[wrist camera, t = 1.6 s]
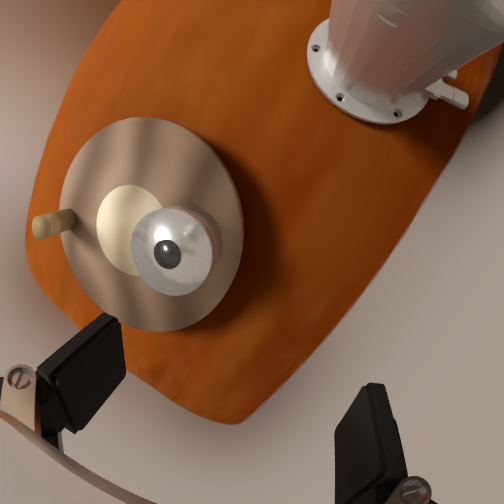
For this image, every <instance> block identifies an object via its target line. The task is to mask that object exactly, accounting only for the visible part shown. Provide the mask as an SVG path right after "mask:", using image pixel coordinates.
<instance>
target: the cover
mask: <svg viewBox="0 0 504 504" xmlns="http://www.w3.org/2000/svg"><path fill="white" fill-rule="evenodd" d="M222 248H223V244H222V236H221V233H220V230H219V228H218V226H217V224H216V222H215V221H214V220H213V218H212V217H211V216H210V215H209V214H208V213H207V212H205V211H204V210H203V209H201V208H199V207H197V206H194V205H190V204H177V205H173V206H169V207H166V208H162V209H159V210H155V211H153V212H150V213H148V214H147V215H145V216H144V217H143V218H142V219H141V220H140V221H139V222H138V224H137V225H136V227H135V229H134V231H133V234H132V238H131V255H132V260H133V263H134V265H135V268H136V270H137V272H138V273H139V275H140V276H141V278H142V279H143V280H144V281H145V282H146V283H147V284H148V285H149V286H150V287H152V288H153V289H155V290H156V291H158V292H160V293H163V294H166V295H171V296H181V295H185V294H188V293H191V292H192V291H194V290H195V289H197V288H198V287H199V286H200V285H201V284H202V283H203V282H204V280H205V279H206V278H207V277H208V276H209V275H210V274H211V272H212V271H213V270H214V269H215V268H216V266H217V265H218V263H219V261H220V258H221V255H222Z"/></svg>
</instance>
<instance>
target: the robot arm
mask: <svg viewBox="0 0 504 504" xmlns="http://www.w3.org/2000/svg"><path fill="white" fill-rule="evenodd" d="M502 42H504V0H332V5H331V11H330V17H329V18H328V19H327V20H325V21H323V22H322V23H321V24H320V25H319V26H318V27H316V29H315V30H314V32H313V33H312V35H311V37H310V40H309V43H308V48H307V64H308V67H309V71H310V74H311V76H312V79H313V81H314V83H315V85H316V86H317V87H318V89H319V90H320V91H321V93H322V94H323V95H324V96H325V97H326V98H327V99H328V100H329V101H330V102H331V103H332V104H333V105H334V106H336V107H337V108H338V109H340V110H341V111H343V112H344V113H346V114H348V115H350V116H352V117H354V118H356V119H359V120H362V121H365V122H369V123H374V124H394V123H400V122H402V121H405V120H407V119H409V118H411V117H413V116H415V115H416V114H417V113H419V112H420V111H421V110H422V109H423V108H424V106H425V104H426V103H427V101H428V99H429V98H432V99H434V100H437V99H438V98H441V99H443V100H445V101H447V102H448V103H450V104H452V105H454V106H456V107H458V108H460V109H462V110H463V109H465V108H466V107H467V105H468V101H469V97H468V94H467V93H466V92H464V91H462V90H460V89H458V88H456V87H454V86H452V85H448V84H446V83H444V82H443V80H442V78H443V77H447V78H449V79H451V80H455V79H456V77H457V70H456V69H458V68H459V67H461V66H463V65H464V64H466V63H468V62H469V61H471V60H473V59H474V58H476V57H478V56H479V55H481V54H483V53H485V52H486V51H488V50H490V49H491V48H493V47H495V46H497V45H498V44H500V43H502ZM314 50H317V51H318V52H314ZM337 98H341V99H342V101H341V102H340V101H338V100H337ZM394 113H396V115H397V117H395V115H394ZM37 369H38V370H37V371H36V372H34V370H33V369H32V368H31V367H30V366H27V365H23V364H19V365H15V366H12V367H11V368H9V369H8V370H7V372H6V373H5V376H4V377H0V504H156V503H154V502H151V501H149V500H147V499H144V498H142V497H140V496H138V495H135V494H133V493H131V492H129V491H127V490H125V489H122V488H121V487H119V486H117V485H115V484H113V483H111V482H109V481H107V480H105V479H104V478H102V477H100V476H98V475H96V474H95V473H93V472H92V471H90V470H88V469H87V468H85V467H84V466H82V465H80V464H79V463H77V462H76V461H74V460H73V459H71V458H70V457H68V456H67V455H65V454H64V450H63V443H62V433H61V431H62V430H63V429H64V428H66V429H68V430H69V431H71V432H72V433H74V434H75V433H76V432H77V431H78V430H82V429H84V427H85V426H86V425H87V424H88V422H89V421H90V420H91V419H92V417H93V416H94V415H95V414H96V412H97V411H98V410H99V409H100V407H101V406H102V405H103V404H104V402H105V401H106V400H107V399H108V397H109V396H110V395H111V394H112V392H113V391H114V390H115V389H116V387H117V386H118V385H119V384H120V382H121V381H122V380H123V379H124V377H125V375H126V366H125V358H124V350H123V341H122V331H121V324H120V323H119V322H118V319H117V318H116V317H114V316H112V315H109V314H107V313H102V314H101V315H100V316H98V317H97V318H96V319H95V320H93V321H92V322H91V323H90V324H88V325H87V326H86V327H85V328H83V329H82V330H81V331H80V332H79V333H78V334H76V335H75V336H74V337H72V338H71V339H70V340H69V341H68V342H66V343H65V344H64V345H63V346H62V347H60V348H59V349H58V350H57V351H56V352H54V353H53V354H52V355H51V356H50V357H49V358H47V359H46V360H45V361H44V362H43V363H42V364H40V365H39V366H38V367H37ZM334 438H335V504H437V503H436V502H434V501H432V500H431V496H432V490H431V487H430V485H429V483H428V482H427V481H426V480H425V479H424V478H421V477H419V476H410V477H408V473H407V468H406V463H405V458H404V453H403V449H402V444H401V440H400V435H399V431H398V427H397V424H396V421H395V419H394V418H393V415H392V411H391V407H390V403H389V400H388V396H387V392H386V388H385V386H384V384H378V383H368V384H367V385H366V386H363V387H362V388H361V390H360V392H359V393H358V395H357V396H356V398H355V400H354V401H353V403H352V404H351V406H350V408H349V409H348V411H347V412H346V414H345V415H344V417H343V418H342V420H341V422H340V423H339V424H338V426H337V427H336V430H335V434H334Z"/></svg>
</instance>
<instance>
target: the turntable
mask: <svg viewBox="0 0 504 504" xmlns="http://www.w3.org/2000/svg"><path fill="white" fill-rule="evenodd" d="M177 204H190V205H194V206H197V207H199V208H201V209H203V210H204V211H205V212H207V213H208V214H209V215H210V216H211V217H212V218H213V220H214V221H215V222H216V224H217V226H218V228H219V230H220V233H221V236H222V244H223V248H222V255H221V258H220V261H219V263H218V265H217V266H216V268H215V269H214V270H213V271H212V272H211V274H210V275H209V276H208V277H207V278H206V279H205V280H204V282H203V283H202V284H201V285H200V286H199V287H198V288H197V289H195V290H194V291H192V292H191V293H188V294H185V295H181V296H171V295H166V294H163V293H160V292H158V291H156V290H155V289H153V288H152V287H150V286H149V285H148V284H147V283H146V282H145V281H144V280H143V279H142V278H141V276H140V275H139V273H138V272H137V270H136V268H135V265H134V263H133V260H132V255H131V238H132V234H133V231H134V229H135V227H136V225H137V224H138V222H139V221H140V220H141V219H142V218H143V217H144V216H145V215H147V214H148V213H150V212H153V211H155V210H159V209H162V208H166V207H169V206H173V205H177ZM32 230H33V233H34V236H35V237H36V238H37V239H38V240H41V239H44V238H47V237H50V236H53V235H55V234H58V233H61V238H62V243H63V247H64V251H65V254H66V257H67V260H68V262H69V265H70V267H71V269H72V271H73V273H74V275H75V277H76V279H77V280H78V282H79V284H80V285H81V287H82V288H83V289H84V291H85V292H86V293H87V295H88V296H89V297H90V298H91V299H92V300H93V301H94V302H95V303H96V304H97V305H98V306H99V307H100V308H101V309H102V310H103V311H105V312H106V313H107V314H109V315H112V316H114V317H116V318H117V319H118V321H120V322H122V323H124V324H126V325H129V326H131V327H134V328H137V329H141V330H145V331H152V332H168V331H175V330H179V329H182V328H186V327H188V326H190V325H192V324H194V323H196V322H198V321H199V320H201V319H202V318H204V317H205V316H207V315H208V314H209V313H210V312H211V311H212V310H213V309H214V308H215V307H216V306H217V305H218V303H219V302H220V301H221V299H222V298H223V297H224V295H225V294H226V292H227V290H228V289H229V287H230V285H231V283H232V281H233V280H234V278H235V275H236V273H237V270H238V267H239V265H240V260H241V256H242V251H243V242H244V219H243V213H242V207H241V201H240V198H239V195H238V192H237V189H236V186H235V183H234V181H233V179H232V177H231V175H230V173H229V171H228V169H227V168H226V166H225V164H224V163H223V161H222V160H221V158H220V157H219V156H218V155H217V153H216V152H215V151H214V150H213V149H212V148H211V146H210V145H209V144H207V143H206V142H205V141H204V140H203V139H202V138H200V137H199V136H198V135H196V134H195V133H193V132H192V131H190V130H188V129H187V128H184V127H182V126H180V125H177V124H175V123H172V122H169V121H166V120H162V119H158V118H151V117H136V118H128V119H124V120H121V121H117V122H115V123H113V124H111V125H109V126H107V127H105V128H103V129H102V130H100V131H99V132H97V133H96V134H95V135H94V136H93V137H92V138H90V139H89V140H88V141H87V142H86V144H85V145H84V146H83V147H82V148H81V149H80V151H79V152H78V154H77V155H76V157H75V158H74V160H73V162H72V164H71V166H70V168H69V170H68V173H67V175H66V178H65V181H64V185H63V189H62V193H61V199H60V210H59V211H55V212H52V213H48V214H44V215H40V216H36V217H34V219H33V221H32Z"/></svg>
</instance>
